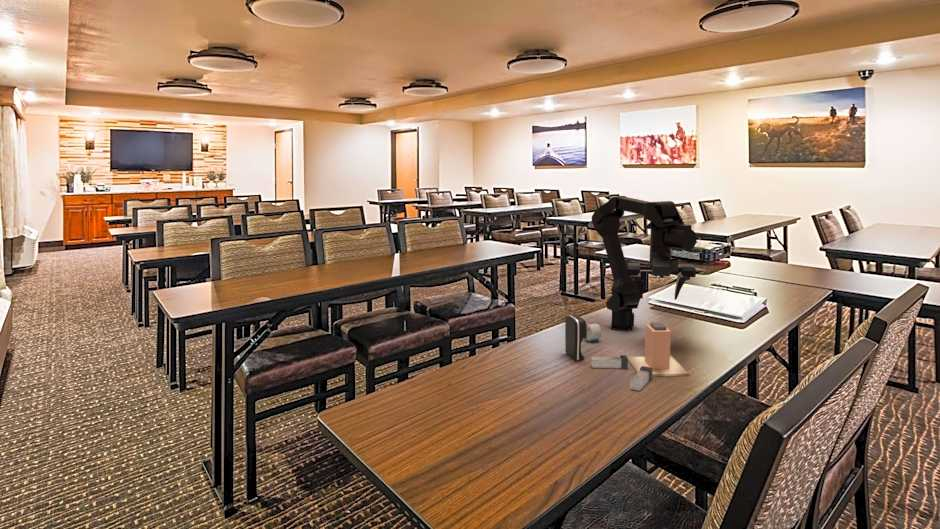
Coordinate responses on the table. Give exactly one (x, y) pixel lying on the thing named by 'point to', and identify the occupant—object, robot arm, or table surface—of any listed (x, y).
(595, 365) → the shaft side
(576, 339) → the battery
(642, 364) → the pad
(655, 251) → the robot arm
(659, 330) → the peach upright block
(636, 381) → the shaft front
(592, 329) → the electric motor
